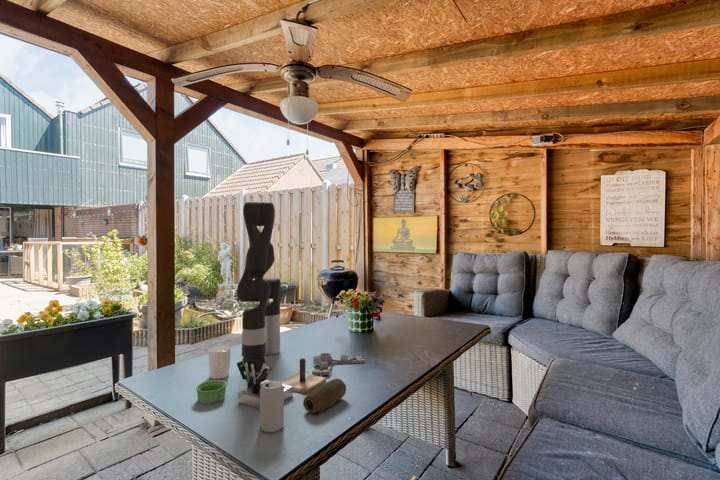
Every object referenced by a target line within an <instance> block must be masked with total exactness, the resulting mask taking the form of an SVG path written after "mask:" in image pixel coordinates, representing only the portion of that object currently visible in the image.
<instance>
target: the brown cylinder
mask: <svg viewBox="0 0 720 480" xmlns="http://www.w3.org/2000/svg"><path fill="white" fill-rule="evenodd" d="M346 392H347V386H346V383H345V382H344V381H343V380H342V379H341V378H333V379H331V380H329V381H326V382H325V383H323V384H321V385H319V386H318V387H316V388H315V389H313V390H312V391H310V392H309V393H307V394H306V396H305V397H304V399H303V401H302V405H303V407H304V409H305V410H306V411H307V412H308V413H311V414H315V413H317V414H318V413H320V412H322V411H324V410H326V409H328V408H329V407H331V405H334V404H335V403H336V402H338V401H339V400H341V399H342V398H343V397H344V396H345V395H346Z"/></svg>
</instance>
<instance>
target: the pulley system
mask: <svg viewBox="0 0 720 480" xmlns="http://www.w3.org/2000/svg"><path fill="white" fill-rule="evenodd" d="M336 361H337V362H336ZM331 362H332V363H331ZM312 363H313V365H315V366H317V365H318V366H320V367H319V368H317V369H313V370H311V375H315V376H327V375H328V376H329V375H330V374H331V371H332V368H333V366H334V364H336V365H349V364H350V365H352V364H364V363H365V359H364V358H363V356H359V355H358V356H355V357H353V358H350V359H349V356H348V355H347V354H342V355H340V359H333V357H332V353H330V352H329V353H328V352H324V353H320V354H319V355H315V356H313V361H312ZM329 363H330V364H331V365H330V368H329Z"/></svg>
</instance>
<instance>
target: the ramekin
mask: <svg viewBox="0 0 720 480" xmlns="http://www.w3.org/2000/svg"><path fill="white" fill-rule="evenodd" d="M195 387H196V392H197V393H196V394H197V401H198V402H199V404H202V405H212V404H216V403H219V402H221V401H223V400H224V399H225V397H226V387H227V382H226V381H224V380H219V379H214V380H207V381H203V382H201V383H199V384H198V385H197V386H195Z"/></svg>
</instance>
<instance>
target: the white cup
mask: <svg viewBox="0 0 720 480" xmlns="http://www.w3.org/2000/svg"><path fill="white" fill-rule="evenodd" d="M207 351H208V353H207V354H208V367H209V377H210V379H214V380H219V379H224V378H227V377H229V375H230V369H231V368H230V365H231V355H232V354H231V353H232V348H231V346H228V345H219V346H218V345H217V346H213V347H210V348H208V349H207Z"/></svg>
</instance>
